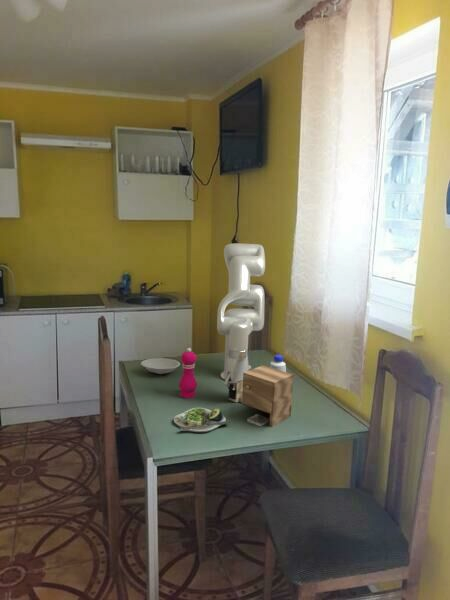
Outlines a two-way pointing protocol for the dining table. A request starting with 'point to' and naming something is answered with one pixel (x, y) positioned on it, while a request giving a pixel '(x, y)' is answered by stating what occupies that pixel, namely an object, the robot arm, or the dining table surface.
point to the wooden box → (268, 392)
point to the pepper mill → (188, 375)
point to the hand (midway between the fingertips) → (235, 396)
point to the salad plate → (200, 420)
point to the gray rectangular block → (258, 420)
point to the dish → (160, 365)
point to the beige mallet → (238, 391)
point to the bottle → (278, 363)
